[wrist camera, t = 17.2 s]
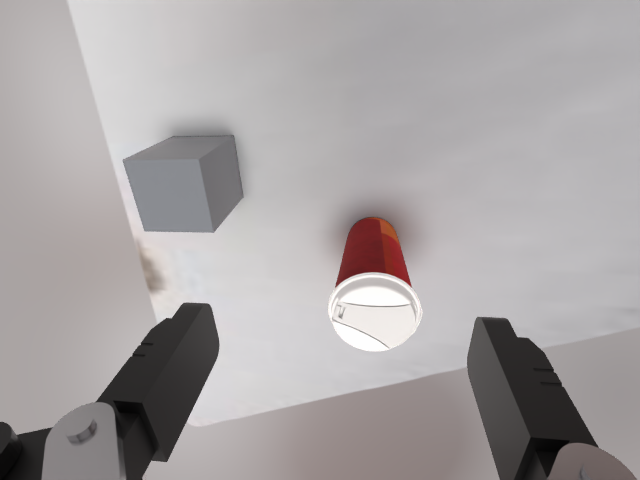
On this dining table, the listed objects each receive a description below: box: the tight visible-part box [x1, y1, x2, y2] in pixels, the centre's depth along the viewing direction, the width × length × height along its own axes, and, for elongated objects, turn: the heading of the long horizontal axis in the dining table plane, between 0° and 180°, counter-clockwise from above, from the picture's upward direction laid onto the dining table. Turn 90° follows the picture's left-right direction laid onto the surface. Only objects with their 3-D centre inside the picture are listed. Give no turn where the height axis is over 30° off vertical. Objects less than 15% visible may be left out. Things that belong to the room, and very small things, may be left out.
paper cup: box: [328, 217, 423, 351], centre depth 35 cm, size 8×8×14 cm
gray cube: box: [123, 136, 243, 233], centre depth 35 cm, size 7×7×9 cm
